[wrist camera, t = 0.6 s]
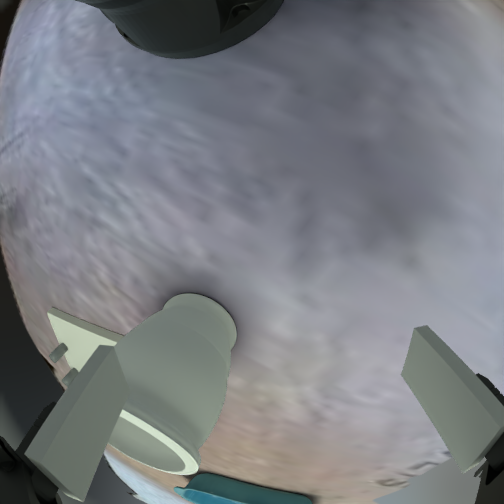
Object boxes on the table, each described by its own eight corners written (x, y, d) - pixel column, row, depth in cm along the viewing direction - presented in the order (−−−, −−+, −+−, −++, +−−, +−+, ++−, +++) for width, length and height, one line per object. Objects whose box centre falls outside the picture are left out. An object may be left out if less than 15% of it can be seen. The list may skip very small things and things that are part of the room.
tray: (52, 307, 34) (32, 323, 30) (148, 344, 31) (128, 370, 27) (86, 385, 42) (72, 401, 37) (169, 421, 39) (158, 443, 34)
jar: (186, 261, 25) (82, 374, 12) (269, 330, 26) (228, 471, 13) (141, 319, 30) (64, 411, 16) (209, 373, 31) (161, 478, 17)
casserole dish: (179, 478, 56) (171, 497, 49) (185, 458, 46) (175, 483, 40) (298, 508, 53) (294, 527, 47) (336, 493, 44) (333, 517, 37)
